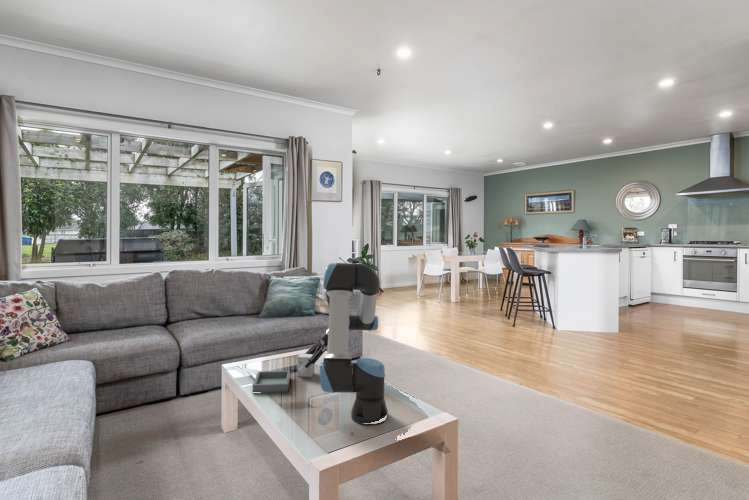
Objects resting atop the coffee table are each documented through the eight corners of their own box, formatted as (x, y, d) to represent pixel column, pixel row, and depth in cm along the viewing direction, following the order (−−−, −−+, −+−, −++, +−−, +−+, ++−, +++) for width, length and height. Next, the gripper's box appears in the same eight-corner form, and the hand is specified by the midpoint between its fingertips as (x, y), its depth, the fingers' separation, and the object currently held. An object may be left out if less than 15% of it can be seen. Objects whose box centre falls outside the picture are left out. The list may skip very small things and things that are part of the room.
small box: (314, 373, 211) (314, 354, 210) (311, 377, 205) (312, 357, 205) (299, 372, 211) (300, 353, 211) (296, 376, 206) (297, 356, 205)
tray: (287, 392, 185) (287, 384, 185) (252, 393, 183) (252, 385, 183) (289, 378, 203) (290, 370, 203) (257, 379, 201) (258, 371, 200)
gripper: (339, 346, 202) (307, 380, 198) (330, 336, 222) (301, 366, 218) (329, 337, 201) (297, 371, 196) (321, 327, 220) (292, 358, 216)
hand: (299, 368), depth 207 cm, fingers closed on small box, 8 cm apart
